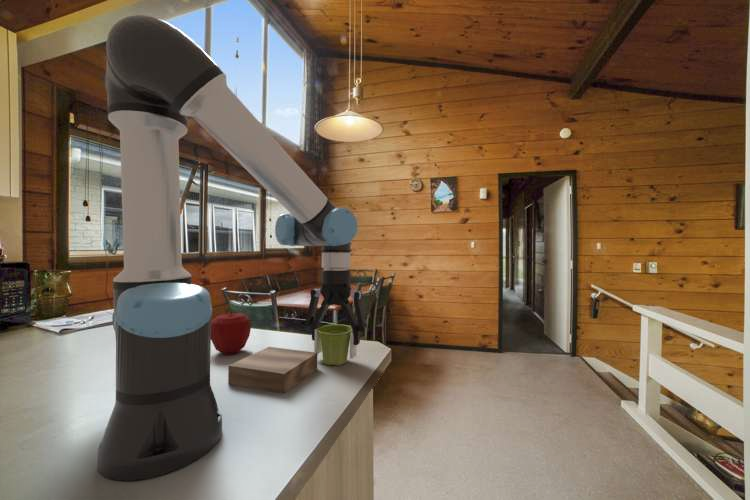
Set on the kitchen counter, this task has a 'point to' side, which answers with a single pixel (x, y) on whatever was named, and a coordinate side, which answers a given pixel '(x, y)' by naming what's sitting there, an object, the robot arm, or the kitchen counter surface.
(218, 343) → the apple
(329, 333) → the plant pot
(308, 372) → the walnut plinth
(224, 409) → the kitchen counter surface
